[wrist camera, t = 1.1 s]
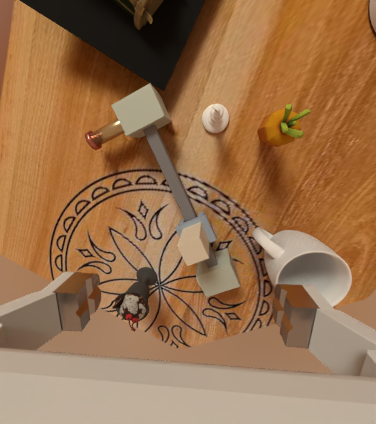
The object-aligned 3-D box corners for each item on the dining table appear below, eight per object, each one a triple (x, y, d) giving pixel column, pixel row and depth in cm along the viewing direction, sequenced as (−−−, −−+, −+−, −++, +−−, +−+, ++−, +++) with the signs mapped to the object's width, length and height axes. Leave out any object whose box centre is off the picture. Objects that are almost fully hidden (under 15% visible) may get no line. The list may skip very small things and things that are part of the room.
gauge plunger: (137, 108, 37) (130, 105, 34) (145, 126, 38) (139, 124, 35) (91, 133, 39) (82, 132, 36) (100, 150, 40) (91, 150, 37)
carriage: (206, 209, 40) (205, 230, 30) (215, 232, 41) (218, 259, 31) (177, 221, 41) (167, 244, 31) (188, 242, 43) (181, 272, 32)
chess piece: (216, 138, 40) (218, 135, 30) (196, 120, 39) (192, 110, 29) (234, 117, 38) (243, 106, 29) (214, 97, 38) (216, 80, 28)
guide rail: (160, 94, 38) (150, 83, 32) (235, 266, 47) (240, 286, 40) (125, 114, 40) (108, 106, 33) (204, 277, 48) (203, 298, 41)
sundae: (165, 284, 50) (147, 339, 35) (139, 291, 51) (112, 346, 37) (155, 260, 48) (132, 307, 34) (128, 267, 49) (96, 315, 35)
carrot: (251, 118, 38) (277, 98, 24) (279, 119, 38) (323, 99, 23) (248, 147, 39) (270, 145, 25) (275, 148, 39) (313, 146, 25)
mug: (231, 240, 45) (240, 275, 32) (266, 199, 42) (290, 220, 29) (285, 277, 46) (314, 325, 34) (323, 241, 43) (370, 278, 31)
